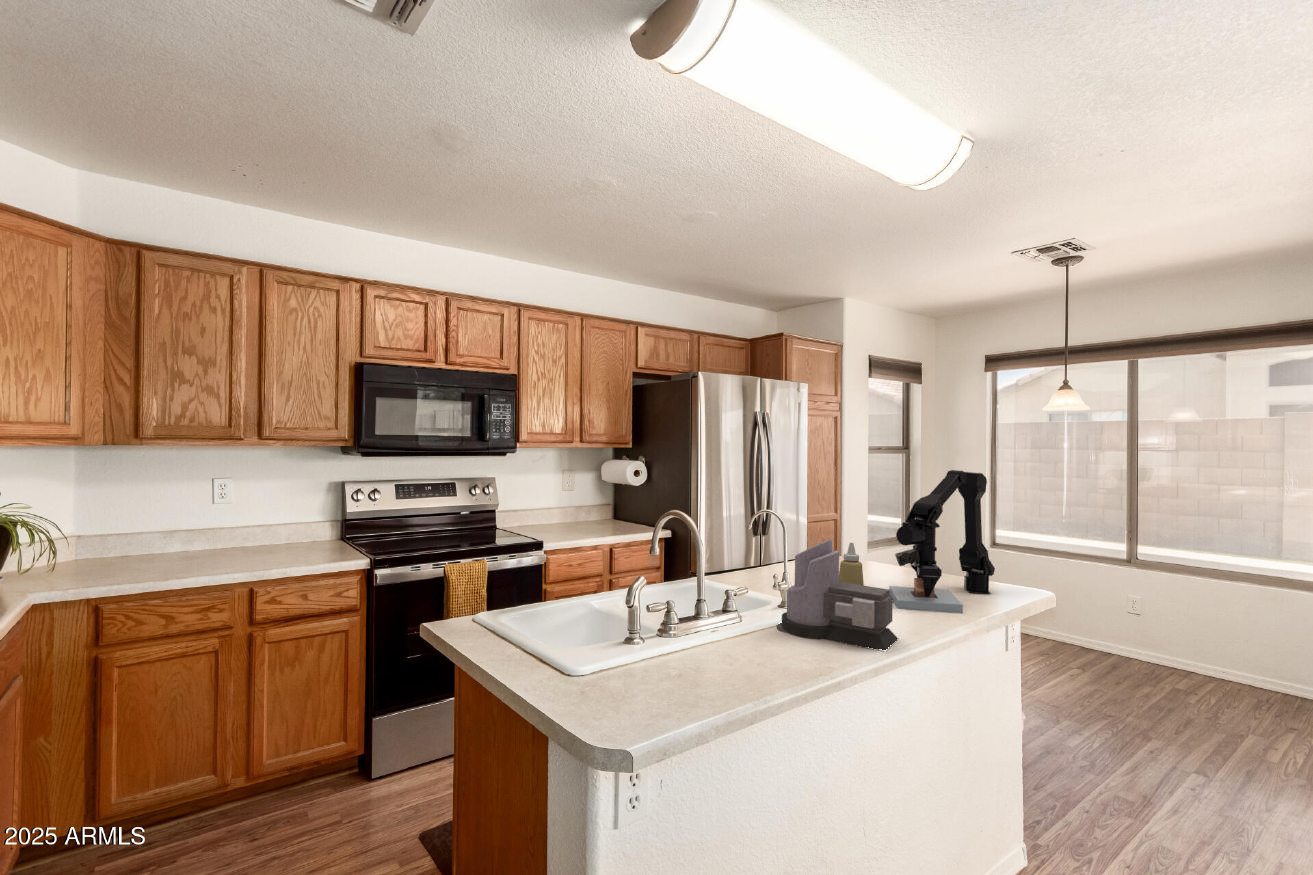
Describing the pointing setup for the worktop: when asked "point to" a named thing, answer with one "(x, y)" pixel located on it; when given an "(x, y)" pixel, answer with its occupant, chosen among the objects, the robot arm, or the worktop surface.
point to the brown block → (920, 589)
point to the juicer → (835, 604)
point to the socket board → (925, 600)
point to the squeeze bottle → (851, 568)
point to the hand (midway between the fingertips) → (924, 593)
